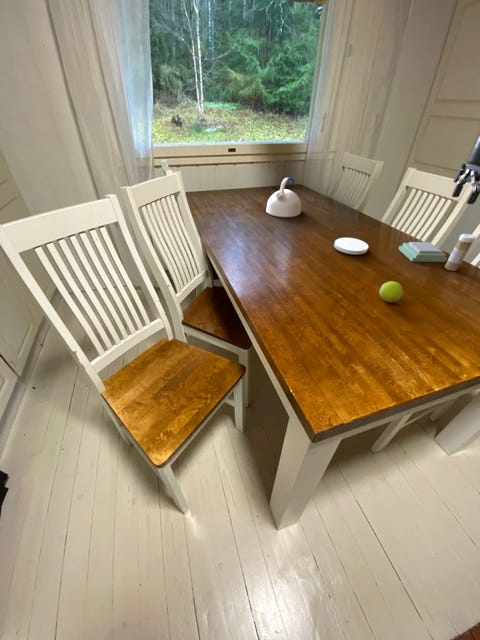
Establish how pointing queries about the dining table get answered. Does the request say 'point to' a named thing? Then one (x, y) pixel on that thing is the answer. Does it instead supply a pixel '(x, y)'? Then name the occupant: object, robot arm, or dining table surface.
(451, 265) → the sprinkles bottle
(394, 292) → the tennis ball
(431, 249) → the pan
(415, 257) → the scale
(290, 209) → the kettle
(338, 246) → the plastic lid
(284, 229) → the dining table surface
